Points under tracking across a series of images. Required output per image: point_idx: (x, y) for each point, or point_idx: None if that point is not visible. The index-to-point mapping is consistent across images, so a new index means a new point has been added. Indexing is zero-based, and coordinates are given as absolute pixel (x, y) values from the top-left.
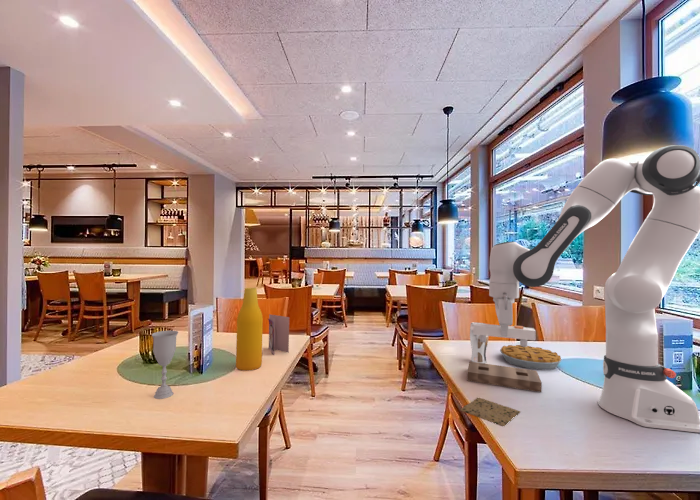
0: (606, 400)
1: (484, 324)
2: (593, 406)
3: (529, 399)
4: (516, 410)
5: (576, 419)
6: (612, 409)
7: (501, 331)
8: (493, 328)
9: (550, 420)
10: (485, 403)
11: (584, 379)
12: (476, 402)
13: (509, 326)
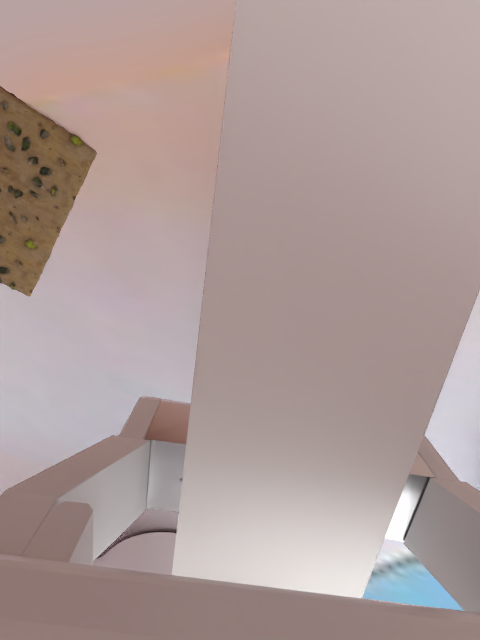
0: (145, 563)
1: (438, 216)
2: (171, 516)
3: (158, 355)
4: (26, 283)
5: (51, 443)
6: (126, 550)
7: (122, 430)
8: (202, 348)
9: (6, 371)
10: (29, 169)
11: (408, 576)
12: (23, 127)
13: (333, 593)
